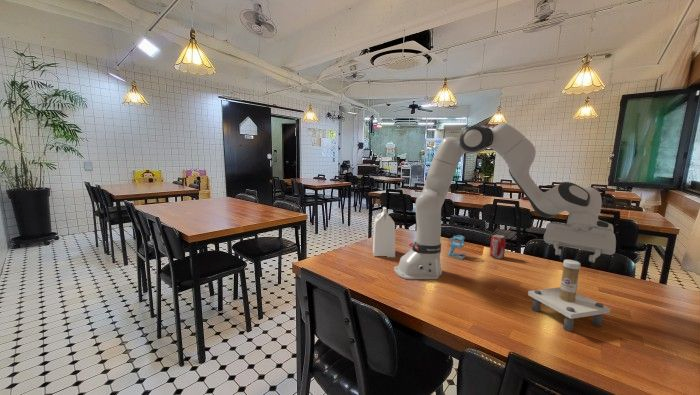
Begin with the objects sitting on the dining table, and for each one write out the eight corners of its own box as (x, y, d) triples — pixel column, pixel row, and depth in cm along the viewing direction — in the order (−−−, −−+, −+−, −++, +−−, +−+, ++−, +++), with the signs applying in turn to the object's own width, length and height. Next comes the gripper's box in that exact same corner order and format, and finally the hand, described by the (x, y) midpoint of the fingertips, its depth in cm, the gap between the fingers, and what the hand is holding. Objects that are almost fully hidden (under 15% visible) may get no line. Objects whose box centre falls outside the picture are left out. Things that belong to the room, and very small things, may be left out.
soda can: (505, 260, 156) (507, 238, 154) (491, 258, 157) (493, 237, 155) (501, 255, 163) (503, 234, 161) (488, 254, 164) (489, 234, 162)
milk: (395, 257, 158) (396, 210, 154) (374, 256, 158) (375, 209, 155) (392, 250, 170) (393, 206, 166) (372, 249, 170) (373, 206, 166)
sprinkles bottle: (558, 299, 99) (563, 261, 97) (559, 294, 102) (564, 258, 100) (575, 303, 96) (580, 264, 94) (576, 298, 99) (581, 261, 98)
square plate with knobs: (568, 333, 90) (571, 312, 89) (526, 307, 106) (528, 289, 105) (607, 327, 94) (610, 306, 93) (561, 303, 110) (563, 285, 109)
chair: (451, 253, 166) (452, 232, 165) (466, 256, 161) (467, 234, 160) (446, 256, 160) (447, 235, 158) (462, 259, 155) (463, 238, 154)
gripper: (547, 216, 112) (538, 246, 106) (619, 225, 98) (613, 260, 92) (548, 225, 116) (540, 255, 110) (617, 236, 101) (612, 270, 96)
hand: (574, 257), depth 101 cm, fingers open, 8 cm apart
